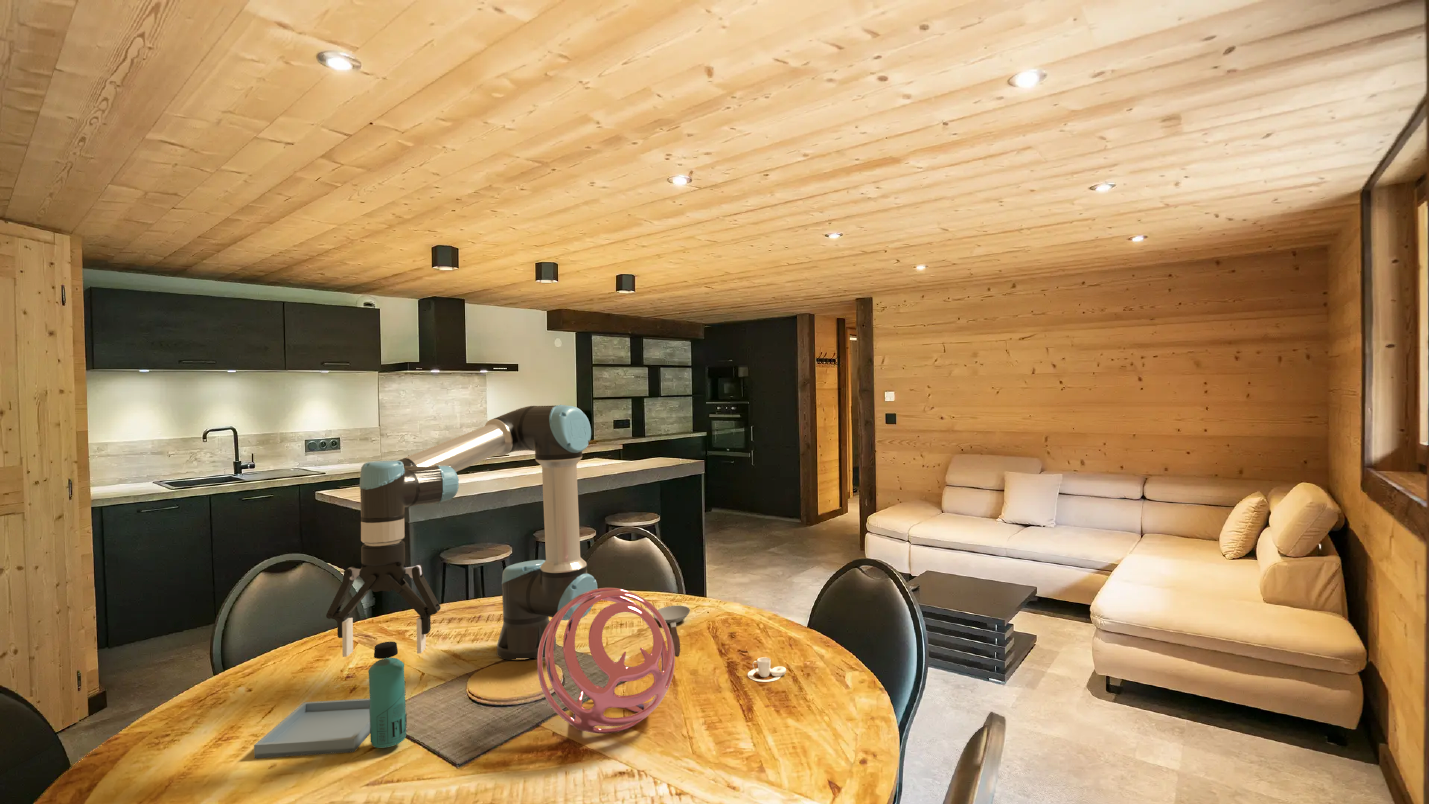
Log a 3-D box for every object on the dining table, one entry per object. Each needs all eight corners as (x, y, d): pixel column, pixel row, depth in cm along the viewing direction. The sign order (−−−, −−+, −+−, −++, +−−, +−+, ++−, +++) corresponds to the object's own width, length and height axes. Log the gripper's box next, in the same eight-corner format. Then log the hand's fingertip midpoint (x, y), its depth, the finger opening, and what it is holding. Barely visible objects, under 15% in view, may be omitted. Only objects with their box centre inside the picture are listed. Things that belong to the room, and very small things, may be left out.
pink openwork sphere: (529, 608, 152) (563, 559, 133) (645, 619, 163) (693, 576, 144) (515, 745, 135) (552, 712, 116) (646, 748, 146) (699, 718, 127)
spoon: (689, 613, 206) (688, 603, 206) (699, 659, 174) (698, 647, 174) (653, 618, 205) (652, 608, 205) (657, 665, 173) (655, 654, 172)
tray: (391, 708, 147) (390, 697, 147) (354, 752, 129) (353, 739, 129) (304, 713, 145) (303, 702, 145) (254, 758, 127) (254, 745, 127)
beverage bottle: (392, 757, 127) (389, 651, 126) (361, 754, 128) (358, 649, 128) (414, 740, 133) (412, 638, 133) (385, 737, 134) (382, 637, 134)
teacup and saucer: (789, 673, 162) (788, 656, 162) (777, 686, 155) (777, 668, 155) (755, 667, 166) (754, 651, 166) (742, 680, 158) (742, 663, 158)
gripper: (455, 535, 135) (457, 642, 135) (324, 540, 133) (326, 648, 133) (444, 543, 127) (445, 656, 127) (305, 548, 125) (306, 663, 125)
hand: (384, 652), depth 130 cm, fingers open, 13 cm apart
